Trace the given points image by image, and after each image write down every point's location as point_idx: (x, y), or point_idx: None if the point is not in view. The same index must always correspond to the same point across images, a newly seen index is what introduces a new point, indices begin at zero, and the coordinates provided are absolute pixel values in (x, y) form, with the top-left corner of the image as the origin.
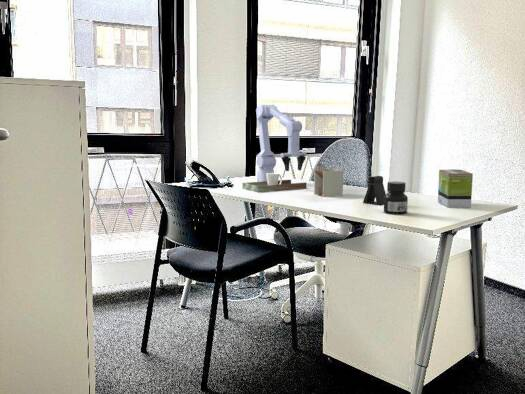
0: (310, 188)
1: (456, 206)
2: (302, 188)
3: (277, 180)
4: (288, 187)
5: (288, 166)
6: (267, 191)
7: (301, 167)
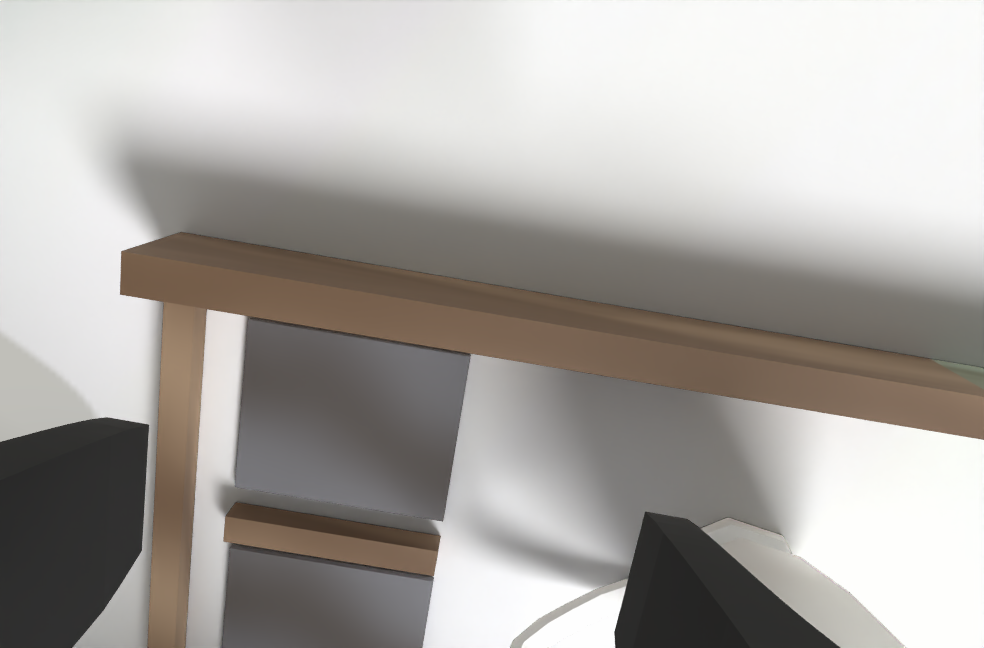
0: (121, 172)
1: None
2: (279, 249)
3: None
4: (617, 317)
5: (746, 597)
6: None
7: (33, 438)
